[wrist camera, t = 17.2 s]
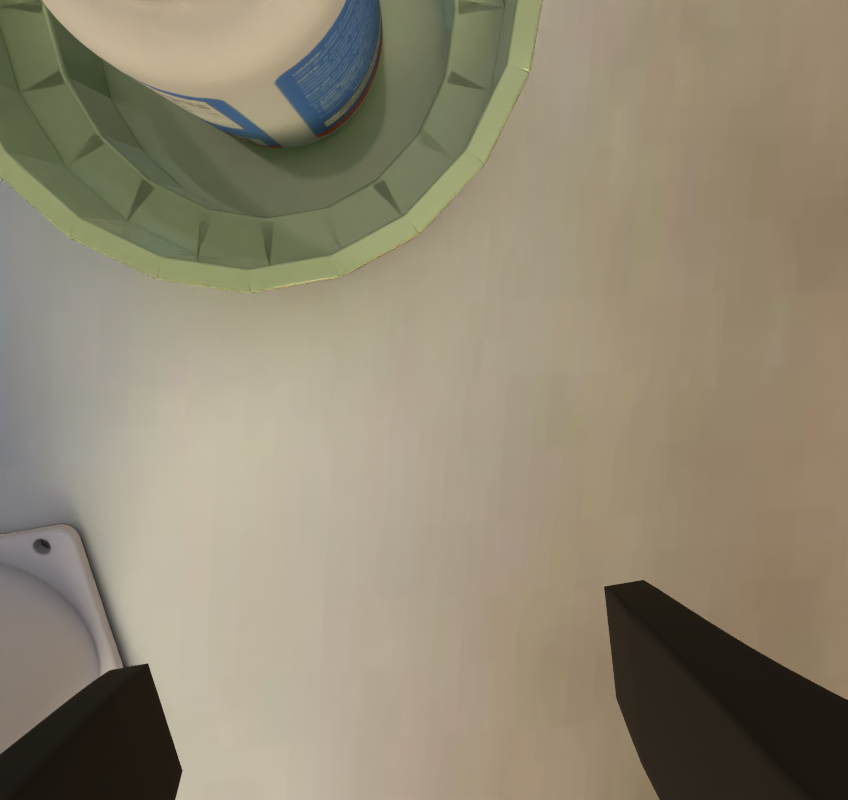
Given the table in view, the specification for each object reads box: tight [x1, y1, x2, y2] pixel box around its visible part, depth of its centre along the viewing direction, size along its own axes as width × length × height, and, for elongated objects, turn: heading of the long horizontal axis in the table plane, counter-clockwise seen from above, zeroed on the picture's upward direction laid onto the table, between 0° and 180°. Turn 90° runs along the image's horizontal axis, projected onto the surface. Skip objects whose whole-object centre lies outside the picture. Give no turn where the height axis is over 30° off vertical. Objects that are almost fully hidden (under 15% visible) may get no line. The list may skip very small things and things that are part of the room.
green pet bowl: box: [0, 0, 543, 293], centre depth 14 cm, size 12×12×5 cm
